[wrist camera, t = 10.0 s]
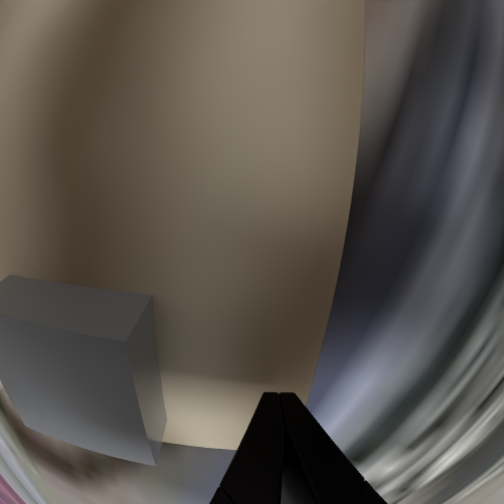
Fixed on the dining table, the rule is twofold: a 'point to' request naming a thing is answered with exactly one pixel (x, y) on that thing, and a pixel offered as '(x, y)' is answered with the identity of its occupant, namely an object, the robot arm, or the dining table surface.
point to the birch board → (188, 179)
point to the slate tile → (83, 366)
